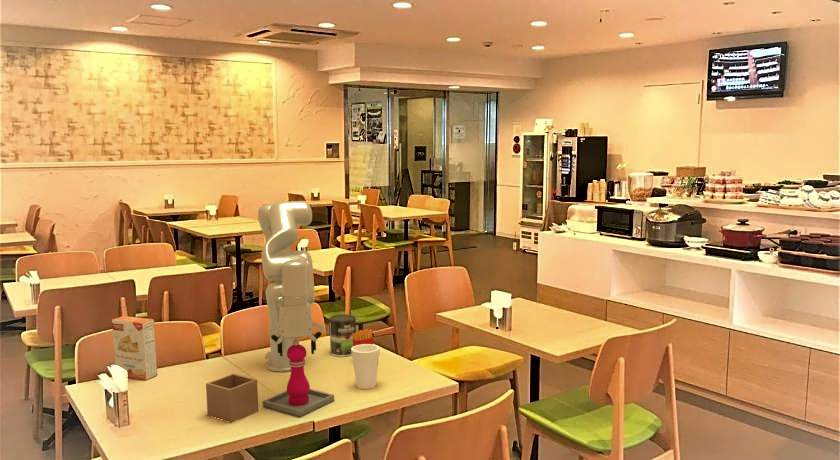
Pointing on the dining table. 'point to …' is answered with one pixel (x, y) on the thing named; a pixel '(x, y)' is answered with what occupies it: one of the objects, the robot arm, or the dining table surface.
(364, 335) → the french fries
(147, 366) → the cracker box
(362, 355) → the foam cup
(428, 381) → the dining table surface
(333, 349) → the coffee can
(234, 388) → the open box
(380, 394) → the dining table surface
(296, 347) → the pepper mill
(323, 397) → the tray
